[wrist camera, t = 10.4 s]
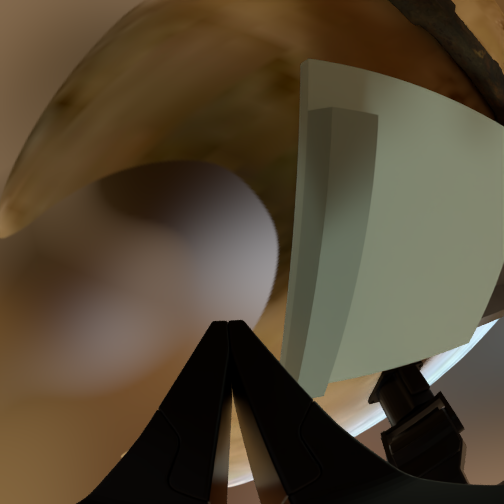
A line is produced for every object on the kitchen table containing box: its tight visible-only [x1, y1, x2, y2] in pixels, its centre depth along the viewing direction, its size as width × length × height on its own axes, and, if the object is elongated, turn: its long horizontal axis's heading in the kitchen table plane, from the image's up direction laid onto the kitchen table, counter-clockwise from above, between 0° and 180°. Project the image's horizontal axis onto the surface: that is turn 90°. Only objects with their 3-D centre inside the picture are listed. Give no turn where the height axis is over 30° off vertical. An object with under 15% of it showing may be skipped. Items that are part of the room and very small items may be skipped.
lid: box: [280, 59, 504, 398], centre depth 11 cm, size 16×16×3 cm
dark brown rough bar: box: [389, 0, 504, 126], centre depth 11 cm, size 19×4×5 cm, turn 62°
